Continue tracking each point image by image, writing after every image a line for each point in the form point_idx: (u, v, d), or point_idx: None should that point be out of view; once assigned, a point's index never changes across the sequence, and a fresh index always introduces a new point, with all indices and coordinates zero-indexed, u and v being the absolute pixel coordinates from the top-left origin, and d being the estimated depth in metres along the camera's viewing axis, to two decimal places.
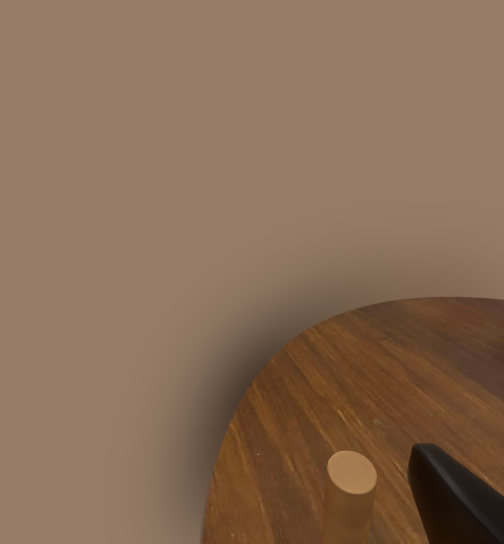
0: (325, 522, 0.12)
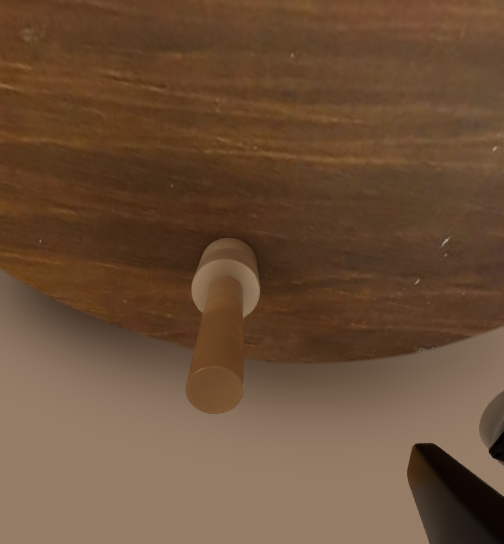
0: None
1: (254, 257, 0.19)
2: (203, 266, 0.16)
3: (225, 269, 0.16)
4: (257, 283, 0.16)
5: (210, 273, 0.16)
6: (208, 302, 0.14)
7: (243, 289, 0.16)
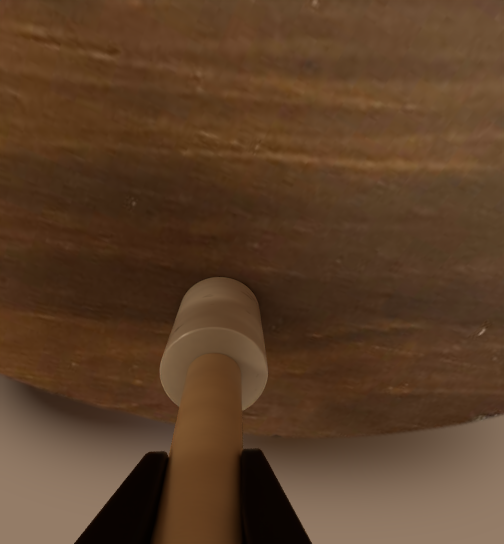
0: None
1: (256, 307, 0.13)
2: (177, 338, 0.10)
3: (212, 343, 0.10)
4: (264, 362, 0.10)
5: (188, 349, 0.10)
6: (181, 421, 0.08)
7: (242, 372, 0.10)
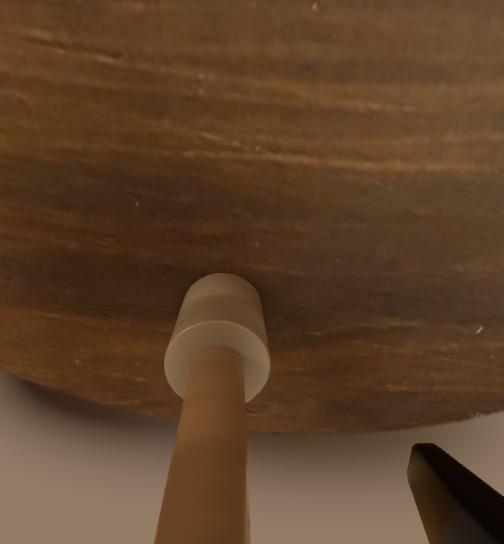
0: None
1: (259, 302, 0.13)
2: (181, 331, 0.10)
3: (216, 336, 0.10)
4: (266, 355, 0.10)
5: (192, 342, 0.10)
6: (186, 410, 0.08)
7: (244, 365, 0.10)
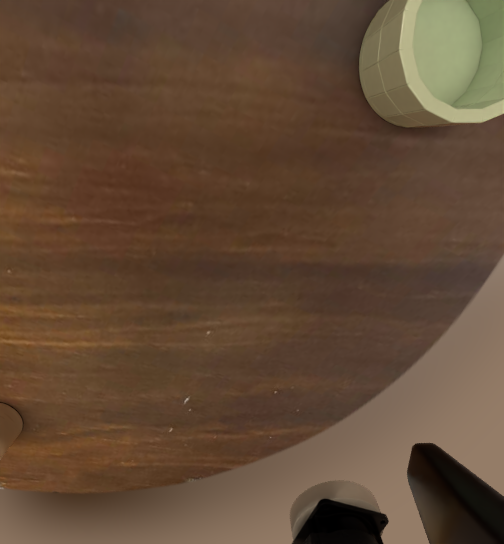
0: None
1: (8, 422, 0.22)
2: None
3: None
4: None
5: None
6: None
7: None
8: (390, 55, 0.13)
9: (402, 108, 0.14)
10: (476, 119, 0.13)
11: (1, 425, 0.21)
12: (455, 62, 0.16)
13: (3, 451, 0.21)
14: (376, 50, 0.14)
